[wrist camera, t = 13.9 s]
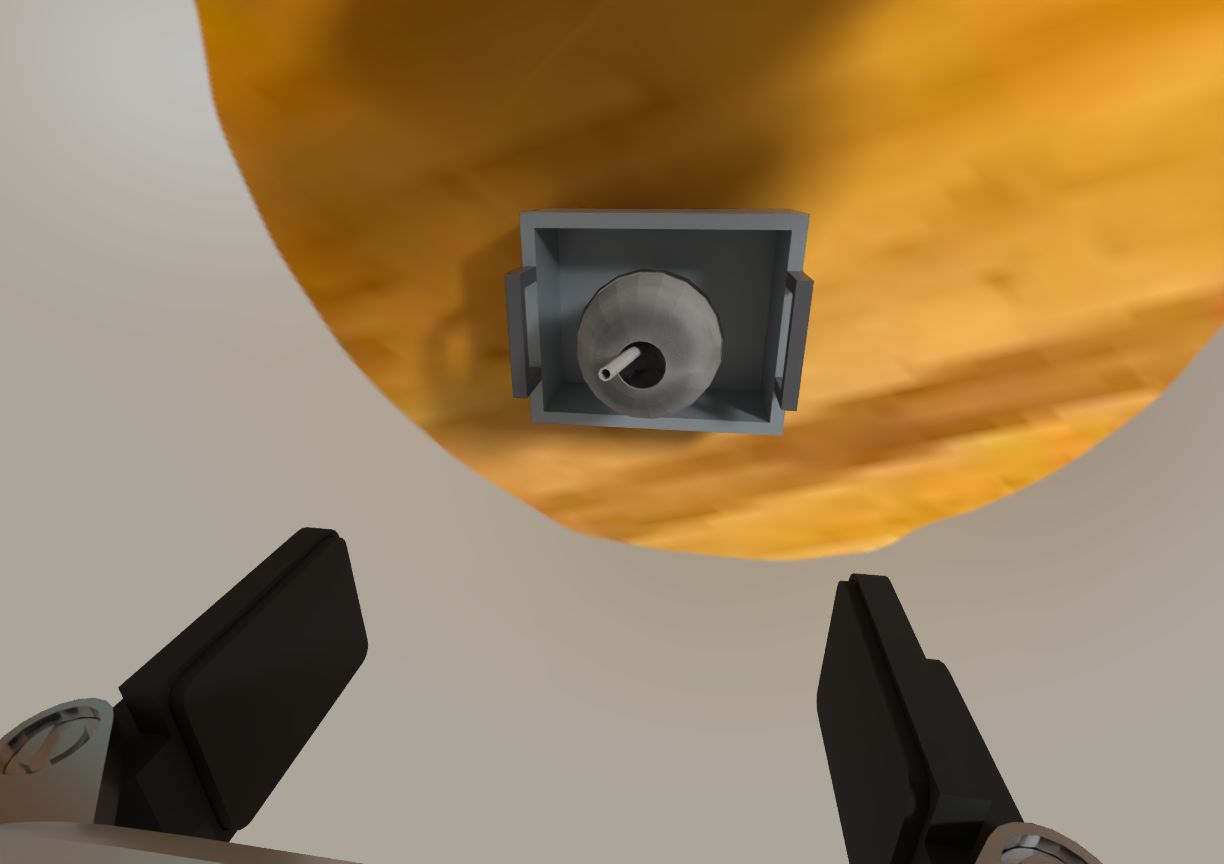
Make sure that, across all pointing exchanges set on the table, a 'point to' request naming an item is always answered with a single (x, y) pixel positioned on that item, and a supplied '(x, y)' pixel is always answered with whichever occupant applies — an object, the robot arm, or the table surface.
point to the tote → (685, 245)
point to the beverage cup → (649, 343)
